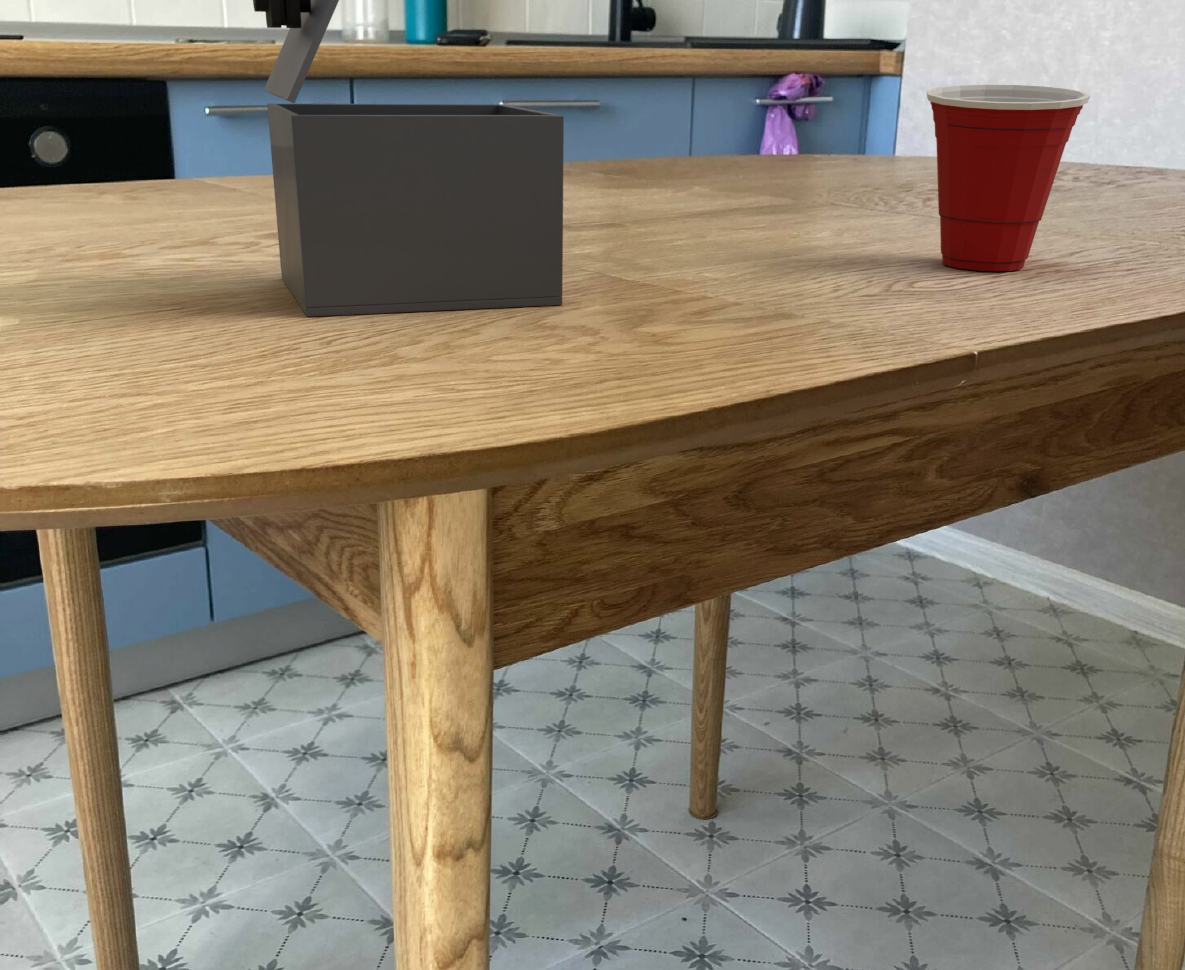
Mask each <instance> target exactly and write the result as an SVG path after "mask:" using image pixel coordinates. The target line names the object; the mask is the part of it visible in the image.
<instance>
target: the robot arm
mask: <svg viewBox="0 0 1185 970" xmlns="http://www.w3.org/2000/svg"><path fill="white" fill-rule="evenodd" d="M252 3H253V4H252V5H253V10H254V12H255V13H256V12H258V13H259V12H260V13H265V20H266V21H265V22H266V28H268V29H281V28H282V26H285V27H286V29H290V28H301V12H303V13H310V12H311V0H252Z"/></svg>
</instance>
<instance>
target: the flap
mask: <svg viewBox="0 0 1185 970" xmlns="http://www.w3.org/2000/svg"><path fill="white" fill-rule="evenodd" d="M339 1H340V0H311V12H310V13H303V12H301V28H289V29H288V32H287V35H286V37H285V39H284V42H283V44H282V46H281V49H280V51H279V53H278V55H277V58H276V61H275V63H274V65H273V68H272V70H271V72H270V74H269V76H268V79H267V82H266V84H265V86H264V89H263V90H264V92H266V93H268V94H270V95H272V96H275V97H278V98H280V99H283V100H284V101H288V102H289V103H291V104H296V101H297V99H298V97H299V94H300V92H301V90H302V87H303V85H304V82H305V80H306V78H307V75H308V73H309V71H310V69H311V66H312V64H313V62H314V60H315V57H316V54H317V52H318V51H319V47H320V45H321V43H322V40H323V38H324V37H325V34H326V31H327V29H328V27H329V24H330V23H331V20H332V18H333V15H334V14H335V11H336V9H337V6H338V4H339Z"/></svg>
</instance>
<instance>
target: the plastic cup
mask: <svg viewBox="0 0 1185 970" xmlns="http://www.w3.org/2000/svg"><path fill="white" fill-rule="evenodd" d="M926 98H927V101H928V102H930V105H931V110H932V120H933V123H934V137H935V140H936V166H937V167H936V172H937V174H936V175H937V202H938V203H937V204H938V206H937V207H938V216H939V228H940V231H939V233H940V253H941V257H942V258H941V259H942V264H943V265H945V266H947V267H950V268H957V269H961V270H971V271H979V272H980V271H981V272H1012V271H1019V270H1022V269H1024V266H1025V263H1026V261H1027V260H1028V258H1029V255H1030V251H1031V249H1032V245H1033V243H1034V239H1035V237H1036V233H1037V229H1038V227H1039V223H1040V222H1041V221H1042V218H1043V215H1044V213H1045V210H1046V207H1047V203H1048V200H1049V197H1050V194H1051V191H1052V188H1053V185H1054V182H1055V178H1056V176H1057V173H1058V169H1059V166H1060V164H1061V160H1062V157H1063V154H1064V151H1065V148H1066V144H1067V143H1068V142H1069V140H1070V137H1071V133H1072V130H1073V128H1074V126H1076V122H1077V119H1078V116H1079V115H1080V114H1081V110H1083V107H1084V105H1086V104H1088V103H1089V100H1090V98H1091V95H1090V94H1088V93H1087V92H1086V91H1081V90H1076V89H1070V88H1065V87H1064V88H1063V87H1052V86H1045V85H1022V84H966V85H965V84H964V85H963V84H961V85H951V86H949V85H948V86H941V87H935V88H931V89H928V90H926Z"/></svg>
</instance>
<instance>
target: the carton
mask: <svg viewBox="0 0 1185 970" xmlns="http://www.w3.org/2000/svg"><path fill="white" fill-rule="evenodd" d="M266 105H267V117H268V118H267V119H268V129H269V143H270V154H271V165H272V178H273V190H274V202H275V213H276V214H275V216H276V228H277V238H278V249H279V252H278V253H279V262H280V275H281V278H282V280H283V282H284V283H285V285H286V287H287V288H288V290H289V291H290V293H291V294H292V296H293V297H294V299H295V301H296V303H298V305H299V307H300V308H301V310H302V311H303V313H304V315H305V317H308V318H310V317H311V318H313V317H332V316H333V317H335V316H354V315H355V316H356V315H374V314H375V315H377V314H396V313H416V312H417V313H419V312H438V311H441V312H442V311H461V310H463V311H464V310H483V309H502V308H505V309H507V308H525V307H547V306H549V307H550V306H562V305H563V277H564V275H563V268H564V267H563V262H564V260H563V258H564V256H563V255H564V253H563V252H564V148H565V147H564V146H565V145H564V140H565V139H564V136H565V135H564V134H565V133H564V132H565V129H564V128H565V125H564V124H565V116H564V115H561V114H557V113H552V112H546V111H540V110H537V109H536V110H535V109H530V108H524V107H519V106H514V105H510V104H503V103H500V104H499V103H498V104H497V103H492V104H491V103H275V102H274V103H270V102H269V103H267V104H266Z"/></svg>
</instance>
